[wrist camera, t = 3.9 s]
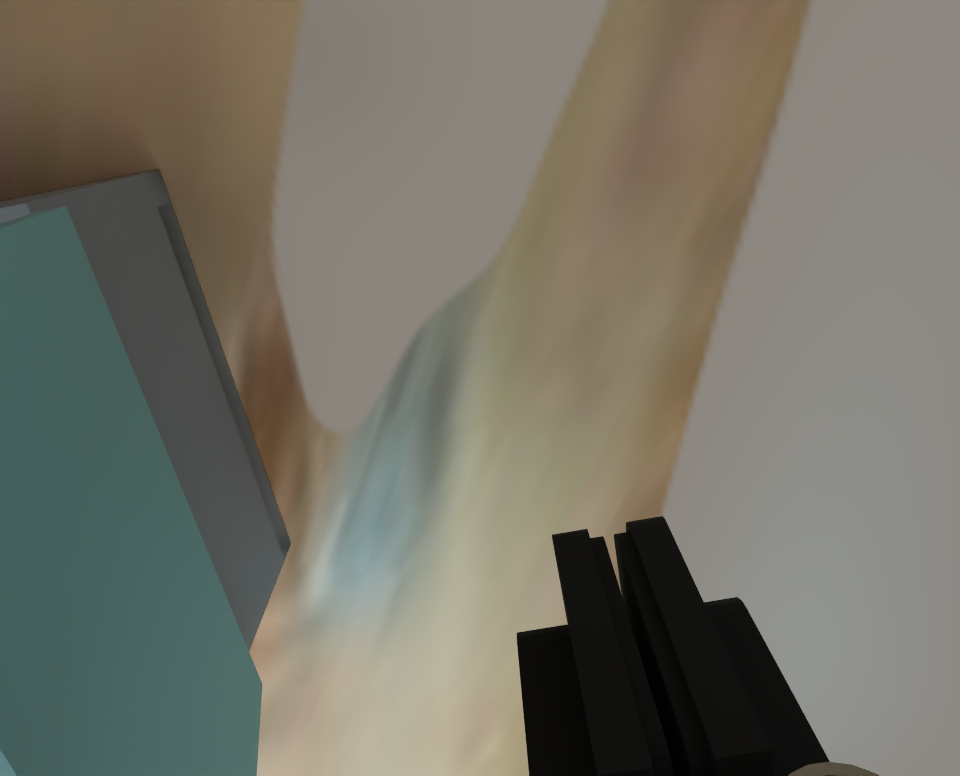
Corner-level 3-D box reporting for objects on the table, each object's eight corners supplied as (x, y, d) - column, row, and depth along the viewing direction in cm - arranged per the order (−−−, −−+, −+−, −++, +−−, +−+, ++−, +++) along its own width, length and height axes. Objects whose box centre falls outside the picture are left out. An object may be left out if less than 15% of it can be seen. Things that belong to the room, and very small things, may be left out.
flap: (-352, 339, 6) (-272, 322, 6) (35, 212, 15) (65, 205, 15) (197, 1133, 11) (235, 1117, 11) (241, 690, 20) (261, 684, 20)
